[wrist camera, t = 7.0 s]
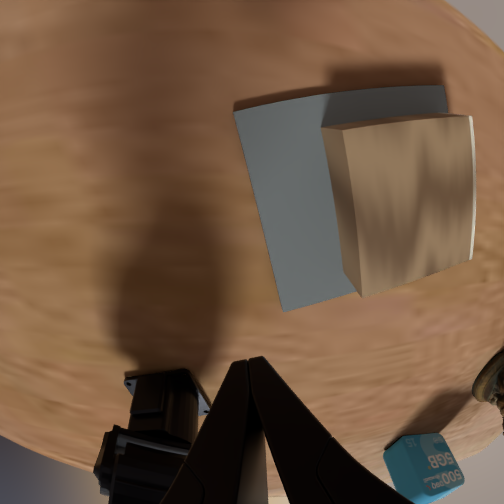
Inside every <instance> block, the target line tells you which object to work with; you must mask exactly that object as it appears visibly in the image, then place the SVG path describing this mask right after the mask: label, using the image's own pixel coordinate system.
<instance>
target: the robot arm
mask: <svg viewBox="0 0 504 504" xmlns="http://www.w3.org/2000/svg"><path fill="white" fill-rule="evenodd" d="M184 374H186V375H184ZM124 385H125V386H126V388H127V389H128V390H129V392H130V393H131V394H132V396H133V399H132V403H131V408H130V414H131V415H130V420H129V424H128V429H125V428H121V427H120V426H118V425H115V424H114V426H113V430H112V431H110V432H105V434H104V438H103V442H102V446H101V449H100V452H99V455H98V458H97V460H96V463H95V466H94V471H93V473H94V474H95V476H96V477H97V478H98V480H99V485H100V494H102V495H106V496H109V503H108V504H268V488H267V469H266V450H265V437H266V440H267V442H268V445H269V448H270V451H271V454H272V457H273V459H274V462H275V465H276V468H277V471H278V473H279V476H280V479H281V481H282V484H283V487H284V490H285V492H286V495H287V497H288V500H289V503H290V504H415V503H413V502H412V501H410V500H409V499H407V498H406V497H404V496H403V495H401V494H400V493H398V492H397V491H396V490H394V489H393V488H391V487H390V486H389V485H387V484H386V483H384V482H383V481H382V480H380V479H379V478H378V477H376V476H375V475H374V474H372V473H371V472H370V471H369V470H367V469H366V468H365V467H364V466H362V465H361V464H360V463H359V462H358V461H356V460H355V459H354V458H353V457H352V456H351V455H350V454H349V453H348V452H347V451H346V450H345V449H344V448H343V447H342V446H341V445H340V444H339V442H338V441H337V440H336V439H335V438H334V437H332V435H331V434H330V433H329V432H328V431H327V430H326V428H325V427H324V426H323V425H322V424H321V423H320V422H319V421H318V419H317V418H316V417H315V416H314V415H313V414H312V413H311V412H310V410H309V409H308V408H307V407H306V406H305V405H304V404H303V402H302V401H301V400H300V399H299V398H298V397H297V395H296V394H295V393H294V392H293V391H292V390H291V388H290V387H289V386H288V385H287V384H286V383H285V381H284V380H283V379H282V378H281V377H280V375H279V374H278V373H277V372H276V371H275V369H274V368H273V367H272V366H271V365H270V363H269V362H268V361H267V360H266V359H265V357H263V356H258V357H254V358H250V359H249V360H246V359H244V360H239V361H234V362H233V363H232V364H231V366H230V368H229V370H228V372H227V374H226V376H225V379H224V381H223V383H222V385H221V387H220V389H219V391H218V393H217V395H216V397H215V399H214V402H213V404H212V406H211V407H210V405H209V404H208V402H207V400H206V399H205V397H204V395H203V394H202V392H201V390H200V389H199V387H198V385H197V383H196V382H195V380H194V378H193V376H192V374H191V373H190V371H189V370H187V369H180V370H174V371H168V372H162V373H155V374H149V375H142V376H135V377H127V378H125V380H124ZM201 415H207V416H206V418H205V420H204V422H203V424H202V426H201V428H200V430H199V432H198V416H201ZM264 434H265V435H264Z"/></svg>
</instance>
